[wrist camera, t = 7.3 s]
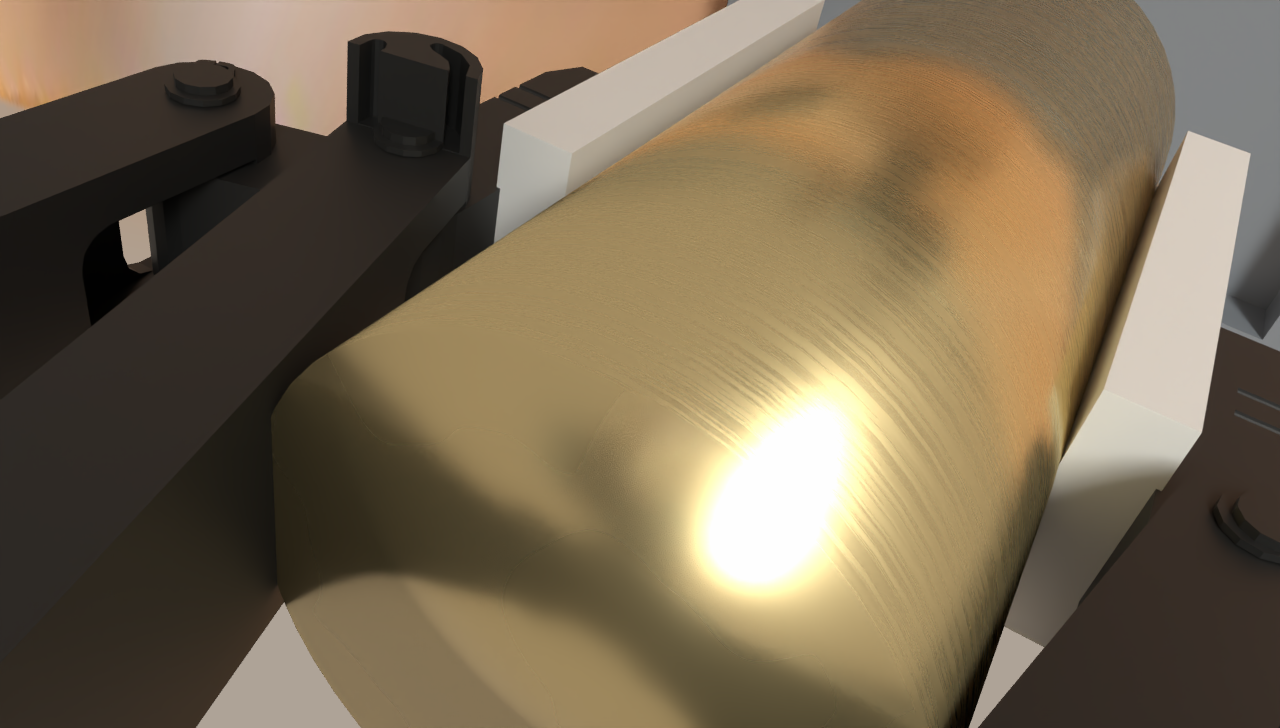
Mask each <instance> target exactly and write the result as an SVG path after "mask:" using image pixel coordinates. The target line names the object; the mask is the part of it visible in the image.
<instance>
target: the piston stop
mask: <svg viewBox="0 0 1280 728" xmlns="http://www.w3.org/2000/svg"><path fill="white" fill-rule="evenodd" d="M1174 124H1175V91H1174V84H1173V78H1172V71H1171V68H1170V65H1169V62H1168V59H1167V56H1166V52H1165V49H1164V47H1163V45H1162V43H1161V41H1160V39H1159V37H1158V35H1157V33H1156V30H1155V28H1154V27H1153V25H1152V24H1151V22H1150V21H1149V19H1148V18H1147V16H1146V15H1145V13H1144V12H1143V11H1142V9H1141V8H1140V6H1139V5H1138V4H1137V3H1136V2H1135V1H1134V0H862V1H860V2H859V3H857V4H856V5H854V6H853V7H851V8H849V9H848V10H846V11H845V12H843V13H842V14H840V15H839V16H837V17H836V18H834V19H833V20H831V21H830V22H828V23H827V24H825V25H824V26H822V27H821V28H819V29H818V30H816V31H815V32H813V33H812V34H810V35H809V36H807V37H806V38H804V39H803V40H801V41H800V42H798V43H796V44H795V45H793V46H792V47H790V48H789V49H787V50H786V51H784V52H783V53H781V54H780V55H778V56H777V57H775V58H774V59H772V60H771V61H769V62H768V63H766V64H765V65H763V66H762V67H760V68H759V69H757V70H756V71H754V72H753V73H751V74H750V75H748V76H747V77H745V78H744V79H742V80H740V81H739V82H737V83H736V84H734V85H733V86H731V87H730V88H728V89H727V90H725V91H724V92H722V93H721V94H719V95H718V96H716V97H715V98H713V99H712V100H710V101H709V102H707V103H706V104H704V105H703V106H701V107H700V108H698V109H697V110H695V111H694V112H692V113H691V114H689V115H687V116H686V117H684V118H683V119H681V120H680V121H678V122H677V123H675V124H674V125H672V126H671V127H669V128H668V129H666V130H665V131H663V132H662V133H660V134H659V135H657V136H656V137H654V138H653V139H651V140H650V141H648V142H647V143H645V144H644V145H642V146H641V147H639V148H638V149H636V150H635V151H633V152H631V153H630V154H628V155H627V156H625V157H624V158H622V159H621V160H619V161H618V162H616V163H615V164H613V165H612V166H610V167H609V168H607V169H606V170H604V171H603V172H601V173H600V174H598V175H597V176H595V177H594V178H592V179H591V180H589V181H588V182H586V183H585V184H583V185H582V186H580V187H578V188H577V189H575V190H574V191H572V192H571V193H569V194H568V195H566V196H565V197H563V198H562V199H560V200H559V201H557V202H556V203H554V204H553V205H551V206H550V207H548V208H547V209H545V210H544V211H542V212H541V213H539V214H538V215H536V216H535V217H533V218H532V219H530V220H529V221H527V222H526V223H524V224H522V225H521V226H519V227H518V228H516V229H515V230H513V231H512V232H510V233H509V234H507V235H506V236H504V237H503V238H501V239H500V240H498V241H497V242H495V243H494V244H492V245H491V246H489V247H488V248H486V249H485V250H483V251H482V252H480V253H479V254H477V255H476V256H474V257H473V258H471V259H469V260H468V261H466V262H465V263H463V264H462V265H460V266H459V267H457V268H456V269H454V270H453V271H451V272H450V273H448V274H447V275H445V276H444V277H442V278H441V279H439V280H438V281H436V282H435V283H433V284H432V285H430V286H429V287H427V288H426V289H424V290H423V291H421V292H420V293H418V294H417V295H415V296H413V297H412V298H410V299H409V300H407V301H406V302H404V303H403V304H401V305H400V306H398V307H397V308H395V309H394V310H392V311H391V312H389V313H388V314H386V315H385V316H383V317H382V318H380V319H379V320H377V321H376V322H374V323H373V324H371V325H370V326H368V327H367V328H365V329H364V330H362V331H360V332H359V333H357V334H356V335H354V336H353V337H351V338H350V339H348V340H347V341H345V342H344V343H342V344H341V345H339V346H338V347H336V348H335V349H333V350H332V351H330V352H329V353H327V354H326V355H324V356H323V357H321V358H320V359H318V360H317V361H315V362H314V363H312V364H311V365H310V366H309V367H308V368H307V369H306V370H305V371H304V372H303V373H302V374H301V375H300V376H298V377H297V378H296V379H295V380H294V381H293V382H292V383H291V384H290V386H289V387H288V389H287V390H286V392H285V393H284V395H283V396H282V398H281V399H280V401H279V402H278V404H277V405H276V407H275V408H274V411H273V414H272V416H271V430H272V455H273V481H274V507H275V533H276V558H277V584H278V587H279V590H280V593H281V596H282V598H283V600H284V602H285V604H286V607H287V609H288V611H289V613H290V616H291V618H292V620H293V622H294V624H295V627H296V629H297V631H298V632H299V634H300V636H301V638H302V639H303V641H304V643H305V645H306V647H307V649H308V651H309V652H310V654H311V656H312V658H313V660H314V661H315V663H316V664H317V666H318V668H319V669H320V671H321V672H322V674H323V675H324V677H325V678H326V680H327V681H328V683H329V684H330V686H331V688H332V689H333V691H334V692H335V694H336V695H337V696H338V698H339V699H340V700H341V702H342V703H343V704H344V706H345V707H346V708H347V710H348V711H349V712H350V714H351V715H352V716H353V718H354V719H355V720H356V722H357V723H358V724H359V726H360V727H361V728H969V725H970V722H971V720H972V717H973V714H974V711H975V708H976V705H977V703H978V699H979V697H980V694H981V691H982V688H983V685H984V682H985V680H986V677H987V674H988V671H989V668H990V665H991V662H992V659H993V656H994V654H995V651H996V648H997V645H998V642H999V639H1000V637H1001V634H1002V631H1003V628H1004V625H1005V622H1006V619H1007V617H1008V614H1009V611H1010V608H1011V605H1012V602H1013V599H1014V596H1015V594H1016V591H1017V588H1018V585H1019V582H1020V579H1021V576H1022V574H1023V571H1024V568H1025V565H1026V562H1027V559H1028V556H1029V553H1030V551H1031V548H1032V545H1033V542H1034V539H1035V536H1036V533H1037V530H1038V528H1039V525H1040V522H1041V519H1042V516H1043V513H1044V510H1045V508H1046V505H1047V502H1048V499H1049V496H1050V493H1051V490H1052V487H1053V484H1054V480H1055V477H1056V473H1057V470H1058V466H1059V463H1060V460H1061V458H1062V455H1063V452H1064V449H1065V446H1066V443H1067V440H1068V438H1069V435H1070V432H1071V429H1072V426H1073V423H1074V420H1075V418H1076V415H1077V412H1078V409H1079V406H1080V403H1081V401H1082V398H1083V395H1084V392H1085V389H1086V386H1087V383H1088V381H1089V378H1090V375H1091V372H1092V369H1093V366H1094V363H1095V361H1096V358H1097V355H1098V352H1099V349H1100V346H1101V344H1102V341H1103V338H1104V335H1105V332H1106V329H1107V326H1108V324H1109V321H1110V318H1111V315H1112V312H1113V309H1114V306H1115V304H1116V301H1117V298H1118V295H1119V292H1120V289H1121V287H1122V284H1123V281H1124V278H1125V275H1126V272H1127V269H1128V267H1129V264H1130V261H1131V258H1132V255H1133V252H1134V249H1135V247H1136V244H1137V241H1138V238H1139V235H1140V232H1141V230H1142V227H1143V224H1144V221H1145V218H1146V215H1147V212H1148V210H1149V207H1150V204H1151V201H1152V198H1153V195H1154V193H1155V190H1156V188H1157V186H1158V184H1159V181H1160V178H1161V175H1162V172H1163V169H1164V166H1165V163H1166V160H1167V157H1168V153H1169V150H1170V146H1171V143H1172V138H1173V131H1174Z"/></svg>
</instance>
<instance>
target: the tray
mask: <svg viewBox="0 0 1280 728" xmlns="http://www.w3.org/2000/svg"><path fill="white" fill-rule="evenodd" d="M737 1H739V0H728V4H727V6H729V5H731V4H733V3H735V2H737ZM860 1H862V0H825V2H824V5H823V9H822V12H821V15H820V19H819V22H818V26H817V29H816V30H818V29H819V28H821V27H822V26H824V25H825V24H827V23H828V22H830V21H831V20H833V19H834V18H836V17H837V16H839V15H840V14H842V13H843V12H845V11H846V10H848V9H849V8H851V7H853V6H854V5H856V4H857V3H859V2H860ZM1134 1H1135V2H1136V3H1137V4H1138V5H1139V6H1140V8H1141V9H1142V11H1143V12H1144V13H1145V15H1146V16H1147V18H1148V19H1149V21H1150V22H1151V24H1152V25H1153V27H1154V28H1155V30H1156V33H1157V35H1158V37H1159V39H1160V41H1161V43H1162V45H1163V47H1164V49H1165V52H1166V56H1167V59H1168V62H1169V65H1170V68H1171V71H1172V78H1173V84H1174V91H1175V124H1174V131H1173V138H1172V143H1171V146H1170V150H1169V153H1168V157H1167V160H1166V163H1165V166H1164V169H1163V172H1162V175H1161V178H1160V181H1161V179H1162V177H1163V176H1164V174H1165V172H1166V170H1167V168H1168V166H1169V165H1170V163H1171V161H1172V159H1173V157H1174V155H1175V154H1176V152H1177V150H1178V148H1179V146H1180V145H1181V143H1182V141H1183V139H1184V137H1185V135H1186V134H1187V132H1188V131H1190V132H1193V133H1196V134H1198V135H1201V136H1204V137H1207V138H1209V139H1212V140H1215V141H1218V142H1220V143H1223V144H1226V145H1229V146H1231V147H1234V148H1237V149H1240V150H1242V151H1245V152H1248V153H1251V154H1250V160H1249V166H1248V172H1247V177H1246V183H1245V189H1244V194H1243V200H1242V206H1241V212H1240V217H1239V223H1238V229H1237V235H1236V240H1235V246H1234V252H1233V257H1232V263H1231V269H1230V275H1229V280H1228V286H1227V292H1226V298H1225V303H1224V309H1223V315H1222V321H1221V326H1220V327H1222V328H1225V329H1227V330H1229V331H1232V332H1234V333H1237V334H1239V335H1241V336H1244V337H1246V338H1249V339H1251V340H1254V341H1256V342H1258V343H1261V344H1263V345H1266V346H1268V347H1271V348H1273V349H1275V350H1278V351H1280V0H1134ZM1160 181H1159V183H1160ZM1158 185H1159V184H1158Z"/></svg>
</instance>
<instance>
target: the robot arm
mask: <svg viewBox="0 0 1280 728" xmlns="http://www.w3.org/2000/svg"><path fill="white" fill-rule="evenodd" d="M824 2H825V0H739V1H737V2H735V3H733V4H731V5H729V6H727V7H725V8H723V9H721V10H719V11H718V12H716V13H714V14H712V15H710V16H708V17H706V18H704V19H702V20H700V21H698V22H696V23H695V24H693V25H691V26H689V27H687V28H685V29H683V30H681V31H679V32H677V33H675V34H674V35H672V36H670V37H668V38H666V39H664V40H662V41H660V42H658V43H656V44H654V45H653V46H651V47H649V48H647V49H645V50H643V51H641V52H639V53H637V54H635V55H633V56H632V57H630V58H628V59H626V60H624V61H622V62H620V63H618V64H616V65H614V66H612V67H611V68H609V69H607V70H605V71H603V72H601V73H599V74H598V73H596V72H594V71H591V70H589V69H586V68H584V67H578V68H571V69H564V70H557V71H550V72H545V73H543V74H541V75H539V76H537V77H535V78H533V79H531V80H529V81H527V82H524V83H522V84H520V87H519V88H517V87H514V88H512V89H510V90H508V91H506V92H504V93H502V94H500V95H499V98H495V97H494V98H492V99H489V100H487V101H485V102H483V103H481V104H480V94H481V83H482V73H483V68H482V66H481V64H480V62H479V60H478V58H477V57H476V56H475V55H474V54H472V53H471V52H469V51H468V50H467V49H465V48H464V47H462V46H460V45H457V44H455V43H452V42H450V41H447V40H444V39H442V38H438V37H433V36H428V35H424V34H419V33H410V32H389V31H388V32H380V33H372V34H365V35H362V36H360V37H357V38H355V39H353V40H350V41H348V62H347V121H346V122H344V123H343V124H342V125H341V126H339V127H338V128H337V129H336V130H334V131H333V132H332V133H331V134H329V135H328V136H323V135H319V134H315V133H311V132H307V131H303V130H299V129H295V128H291V127H287V126H283V125H279V124H275V94H274V92H273V90H272V88H271V86H270V84H269V82H268V81H266V80H264V79H263V78H261V77H260V76H258V75H257V74H255V73H254V72H251V71H248V70H244V69H241V68H238V67H235V66H234V65H233V64H230V63H225V62H220V61H219V63H216V61H212V60H198V61H196V62H182V63H175V64H170V65H165V66H160V67H155V68H152V69H149V70H146V71H143V72H140V73H137V74H134V75H131V76H128V77H125V78H122V79H119V80H116V81H113V82H110V83H107V84H104V85H101V86H97V87H94V88H91V89H88V90H85V91H82V92H79V93H76V94H73V95H70V96H67V97H64V98H61V99H58V100H55V101H52V102H49V103H46V104H43V105H40V106H37V107H33V108H30V109H27V110H24V111H21V112H18V113H15V114H12V115H10V116H6V117H3V118H0V728H196V726H197V725H198V724H199V722H200V721H201V719H202V718H203V716H204V715H205V714H206V712H207V711H208V709H209V708H210V706H211V705H212V703H213V702H214V701H215V699H216V698H217V697H218V695H219V694H220V692H221V691H222V689H223V688H224V687H225V685H226V684H227V682H228V681H229V679H230V678H231V677H232V675H233V674H234V672H235V671H236V669H237V668H238V667H239V665H240V664H241V662H242V661H243V659H244V658H245V657H246V655H247V654H248V652H249V651H250V650H251V648H252V647H253V645H254V644H255V642H256V641H257V640H258V638H259V637H260V635H261V634H262V633H263V631H264V630H265V628H266V627H267V625H268V624H269V623H270V621H271V620H272V618H273V617H274V615H275V614H276V613H277V611H278V610H279V608H280V607H281V605H282V604H283V603H284V600H283V598H282V596H281V593H280V590H279V587H278V584H277V558H276V533H275V507H274V481H273V455H272V430H271V416H272V414H273V411H274V408H275V407H276V405H277V404H278V402H279V401H280V399H281V398H282V396H283V395H284V393H285V392H286V390H287V389H288V387H289V386H290V384H291V383H292V382H293V381H294V380H295V379H296V378H297V377H298V376H300V375H301V374H302V373H303V372H304V371H305V370H306V369H307V368H308V367H309V366H310V365H311V364H312V363H314V362H315V361H317V360H318V359H320V358H321V357H323V356H324V355H326V354H327V353H329V352H330V351H332V350H333V349H335V348H336V347H338V346H339V345H341V344H342V343H344V342H345V341H347V340H348V339H350V338H351V337H353V336H354V335H356V334H357V333H359V332H360V331H362V330H364V329H365V328H367V327H368V326H370V325H371V324H373V323H374V322H376V321H377V320H379V319H380V318H382V317H383V316H385V315H386V314H388V313H389V312H391V311H392V310H394V309H395V308H397V307H398V306H400V305H401V304H403V303H404V302H406V301H407V300H409V299H410V298H412V297H413V296H415V295H417V294H418V293H420V292H421V291H423V290H424V289H426V288H427V287H429V286H430V285H432V284H433V283H435V282H436V281H438V280H439V279H441V278H442V277H444V276H445V275H447V274H448V273H450V272H451V271H453V270H454V269H456V268H457V267H459V266H460V265H462V264H463V263H465V262H466V261H468V260H469V259H471V258H473V257H474V256H476V255H477V254H479V253H480V252H482V251H483V250H485V249H486V248H488V247H489V246H491V245H492V244H494V243H495V242H497V241H498V240H500V239H501V238H503V237H504V236H506V235H507V234H509V233H510V232H512V231H513V230H515V229H516V228H518V227H519V226H521V225H522V224H524V223H526V222H527V221H529V220H530V219H532V218H533V217H535V216H536V215H538V214H539V213H541V212H542V211H544V210H545V209H547V208H548V207H550V206H551V205H553V204H554V203H556V202H557V201H559V200H560V199H562V198H563V197H565V196H566V195H568V194H569V193H571V192H572V191H574V190H575V189H577V188H578V187H580V186H582V185H583V184H585V183H586V182H588V181H589V180H591V179H592V178H594V177H595V176H597V175H598V174H600V173H601V172H603V171H604V170H606V169H607V168H609V167H610V166H612V165H613V164H615V163H616V162H618V161H619V160H621V159H622V158H624V157H625V156H627V155H628V154H630V153H631V152H633V151H635V150H636V149H638V148H639V147H641V146H642V145H644V144H645V143H647V142H648V141H650V140H651V139H653V138H654V137H656V136H657V135H659V134H660V133H662V132H663V131H665V130H666V129H668V128H669V127H671V126H672V125H674V124H675V123H677V122H678V121H680V120H681V119H683V118H684V117H686V116H687V115H689V114H691V113H692V112H694V111H695V110H697V109H698V108H700V107H701V106H703V105H704V104H706V103H707V102H709V101H710V100H712V99H713V98H715V97H716V96H718V95H719V94H721V93H722V92H724V91H725V90H727V89H728V88H730V87H731V86H733V85H734V84H736V83H737V82H739V81H740V80H742V79H744V78H745V77H747V76H748V75H750V74H751V73H753V72H754V71H756V70H757V69H759V68H760V67H762V66H763V65H765V64H766V63H768V62H769V61H771V60H772V59H774V58H775V57H777V56H778V55H780V54H781V53H783V52H784V51H786V50H787V49H789V48H790V47H792V46H793V45H795V44H796V43H798V42H800V41H801V40H803V39H804V38H806V37H807V36H809V35H810V34H812V33H813V32H815V31H816V29H817V26H818V22H819V19H820V15H821V12H822V9H823V5H824ZM1250 154H1251V153H1248V152H1245V151H1242V150H1240V149H1237V148H1234V147H1231V146H1229V145H1226V144H1223V143H1220V142H1218V141H1215V140H1212V139H1209V138H1207V137H1204V136H1201V135H1198V134H1196V133H1193V132H1190V131H1188V132H1187V134H1186V135H1185V137H1184V139H1183V141H1182V143H1181V145H1180V146H1179V148H1178V150H1177V152H1176V154H1175V155H1174V157H1173V159H1172V161H1171V163H1170V165H1169V166H1168V168H1167V170H1166V172H1165V174H1164V176H1163V177H1162V179H1161V181H1160V183H1159V185H1158V186H1157V188H1156V190H1155V193H1154V195H1153V198H1152V201H1151V204H1150V207H1149V210H1148V212H1147V215H1146V218H1145V221H1144V224H1143V227H1142V230H1141V232H1140V235H1139V238H1138V241H1137V244H1136V247H1135V249H1134V252H1133V255H1132V258H1131V261H1130V264H1129V267H1128V269H1127V272H1126V275H1125V278H1124V281H1123V284H1122V287H1121V289H1120V292H1119V295H1118V298H1117V301H1116V304H1115V306H1114V309H1113V312H1112V315H1111V318H1110V321H1109V324H1108V326H1107V329H1106V332H1105V335H1104V338H1103V341H1102V344H1101V346H1100V349H1099V352H1098V355H1097V358H1096V361H1095V363H1094V366H1093V369H1092V372H1091V375H1090V378H1089V381H1088V383H1087V386H1086V389H1085V392H1084V395H1083V398H1082V401H1081V403H1080V406H1079V409H1078V412H1077V415H1076V418H1075V420H1074V423H1073V426H1072V429H1071V432H1070V435H1069V438H1068V440H1067V443H1066V446H1065V449H1064V452H1063V455H1062V458H1061V460H1060V463H1059V466H1058V470H1057V473H1056V477H1055V480H1054V484H1053V487H1052V490H1051V493H1050V496H1049V499H1048V502H1047V505H1046V508H1045V510H1044V513H1043V516H1042V519H1041V522H1040V525H1039V528H1038V530H1037V533H1036V536H1035V539H1034V542H1033V545H1032V548H1031V551H1030V553H1029V556H1028V559H1027V562H1026V565H1025V568H1024V571H1023V574H1022V576H1021V579H1020V582H1019V585H1018V588H1017V591H1016V594H1015V596H1014V599H1013V602H1012V605H1011V608H1010V611H1009V614H1008V617H1007V619H1006V622H1005V625H1004V626H1005V627H1007V628H1009V629H1011V630H1012V631H1014V632H1016V633H1018V634H1020V635H1022V636H1024V637H1026V638H1028V639H1030V640H1032V641H1034V642H1035V643H1037V644H1039V645H1041V646H1043V647H1045V648H1044V649H1043V650H1042V651H1041V652H1040V654H1039V655H1038V656H1037V657H1036V659H1035V660H1034V661H1033V662H1032V663H1031V664H1030V666H1029V667H1028V668H1027V669H1026V671H1025V672H1024V673H1023V674H1022V675H1021V677H1020V678H1019V679H1018V680H1017V681H1016V683H1015V684H1014V685H1013V686H1012V687H1011V689H1010V690H1009V691H1008V692H1007V693H1006V695H1005V696H1004V697H1003V698H1002V699H1001V701H1000V702H999V703H998V704H997V705H996V707H995V708H994V709H993V710H992V712H991V713H990V714H989V715H988V716H987V717H986V719H985V720H984V721H983V722H982V724H981V725H980V726H979V727H978V728H1280V351H1278V350H1275V349H1273V348H1271V347H1268V346H1266V345H1263V344H1261V343H1258V342H1256V341H1254V340H1251V339H1249V338H1246V337H1244V336H1241V335H1239V334H1237V333H1234V332H1232V331H1229V330H1227V329H1225V328H1222V327H1220V326H1221V321H1222V315H1223V309H1224V303H1225V298H1226V292H1227V286H1228V280H1229V275H1230V269H1231V263H1232V257H1233V252H1234V246H1235V240H1236V235H1237V229H1238V223H1239V217H1240V212H1241V206H1242V200H1243V194H1244V189H1245V183H1246V177H1247V172H1248V166H1249V160H1250ZM144 209H146V216H147V224H148V233H149V242H150V250H151V257H149V258H147V259H145V260H143V261H141V262H139V263H134V264H129V265H127V263H126V261H125V259H124V256H123V250H122V242H121V235H120V227H119V220H122V219H124V218H126V217H128V216H131V215H133V214H135V213H137V212H140V211H142V210H144Z"/></svg>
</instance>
